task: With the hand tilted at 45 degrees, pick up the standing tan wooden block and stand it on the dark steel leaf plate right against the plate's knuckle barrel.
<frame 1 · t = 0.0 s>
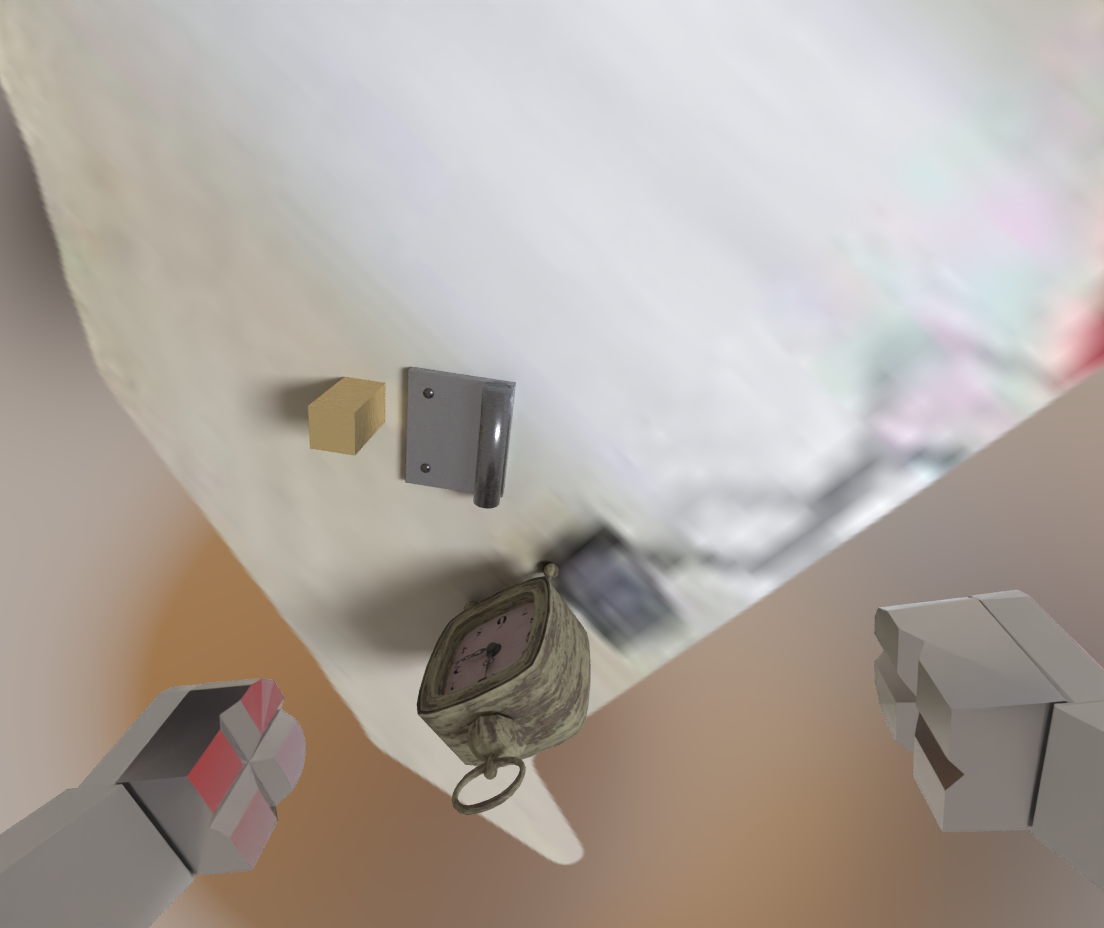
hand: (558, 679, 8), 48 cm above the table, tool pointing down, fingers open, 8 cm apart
fixed leaf: (459, 432, 60), on the table
tan wooden block: (365, 399, 59), on the table
tabletop clock: (525, 601, 68), on the table
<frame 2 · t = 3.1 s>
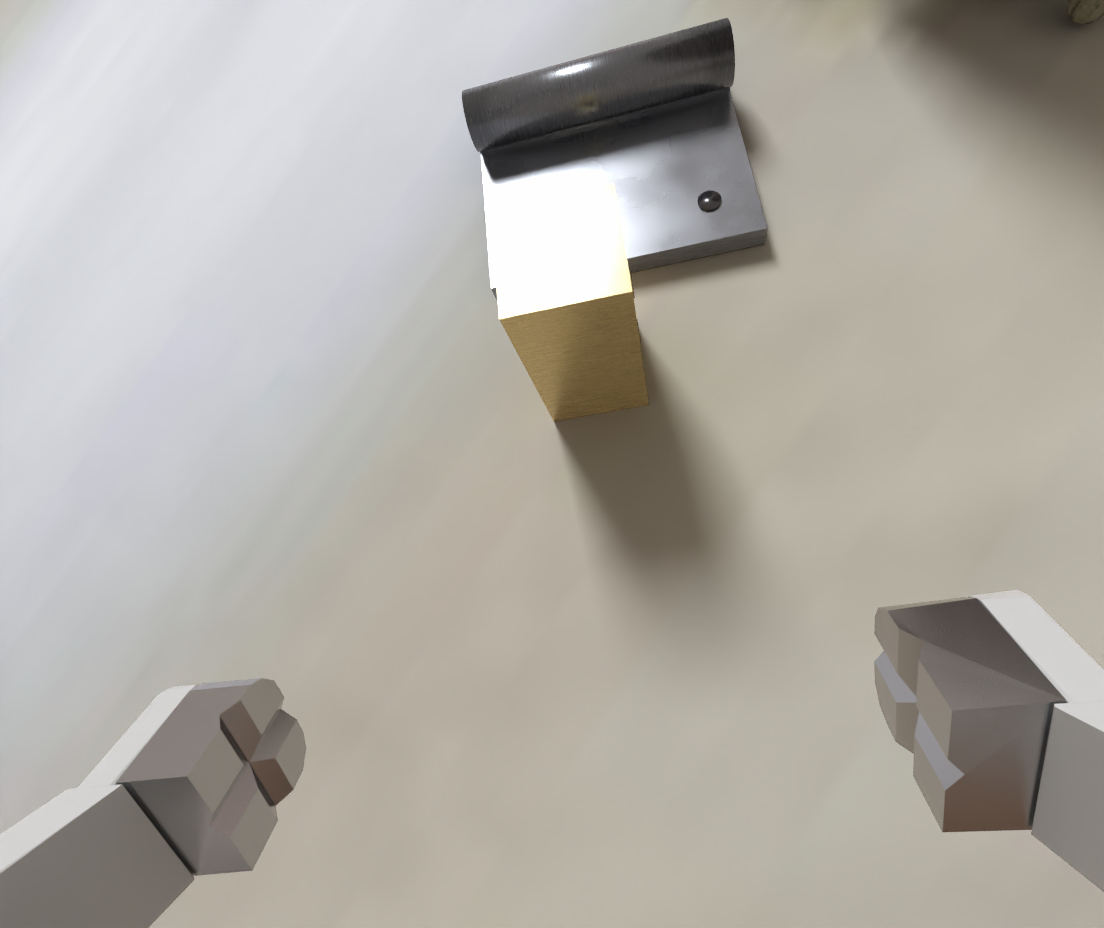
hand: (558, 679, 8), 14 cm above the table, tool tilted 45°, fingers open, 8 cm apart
fixed leaf: (611, 186, 29), on the table
tan wooden block: (594, 370, 26), on the table
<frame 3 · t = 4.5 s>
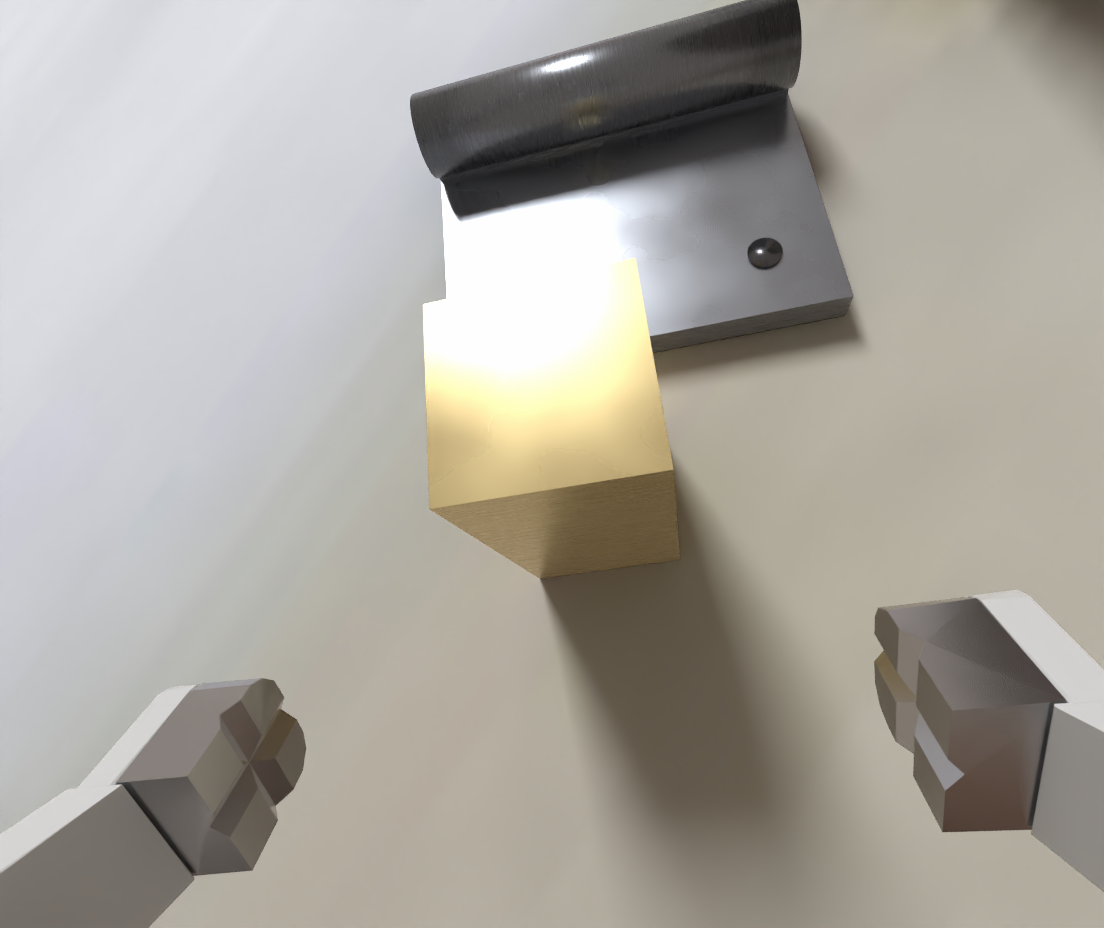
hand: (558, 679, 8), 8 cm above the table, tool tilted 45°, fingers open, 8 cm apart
fixed leaf: (621, 226, 21), on the table
tan wooden block: (599, 501, 18), on the table
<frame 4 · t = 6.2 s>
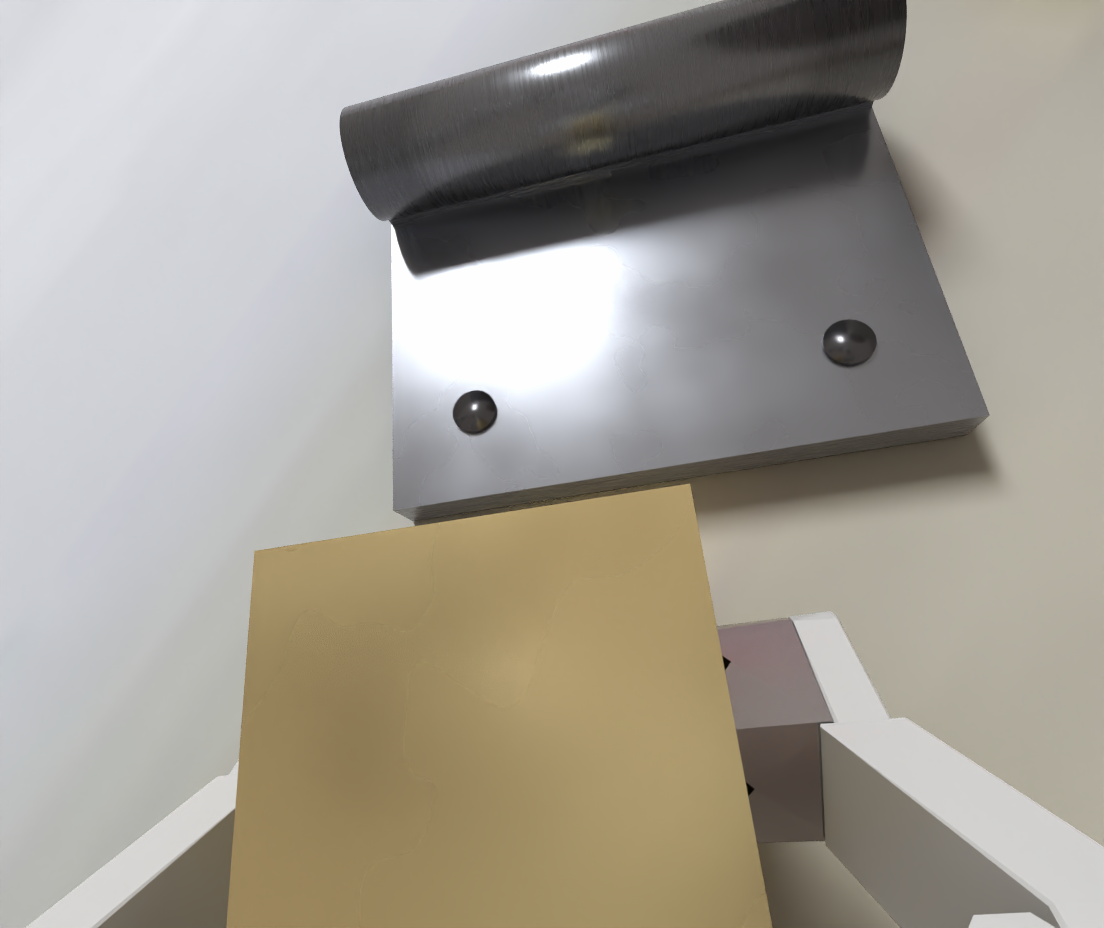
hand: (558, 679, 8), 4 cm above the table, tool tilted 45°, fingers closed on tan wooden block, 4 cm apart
fixed leaf: (635, 290, 15), on the table
tan wooden block: (606, 710, 12), on the table, touching gripper
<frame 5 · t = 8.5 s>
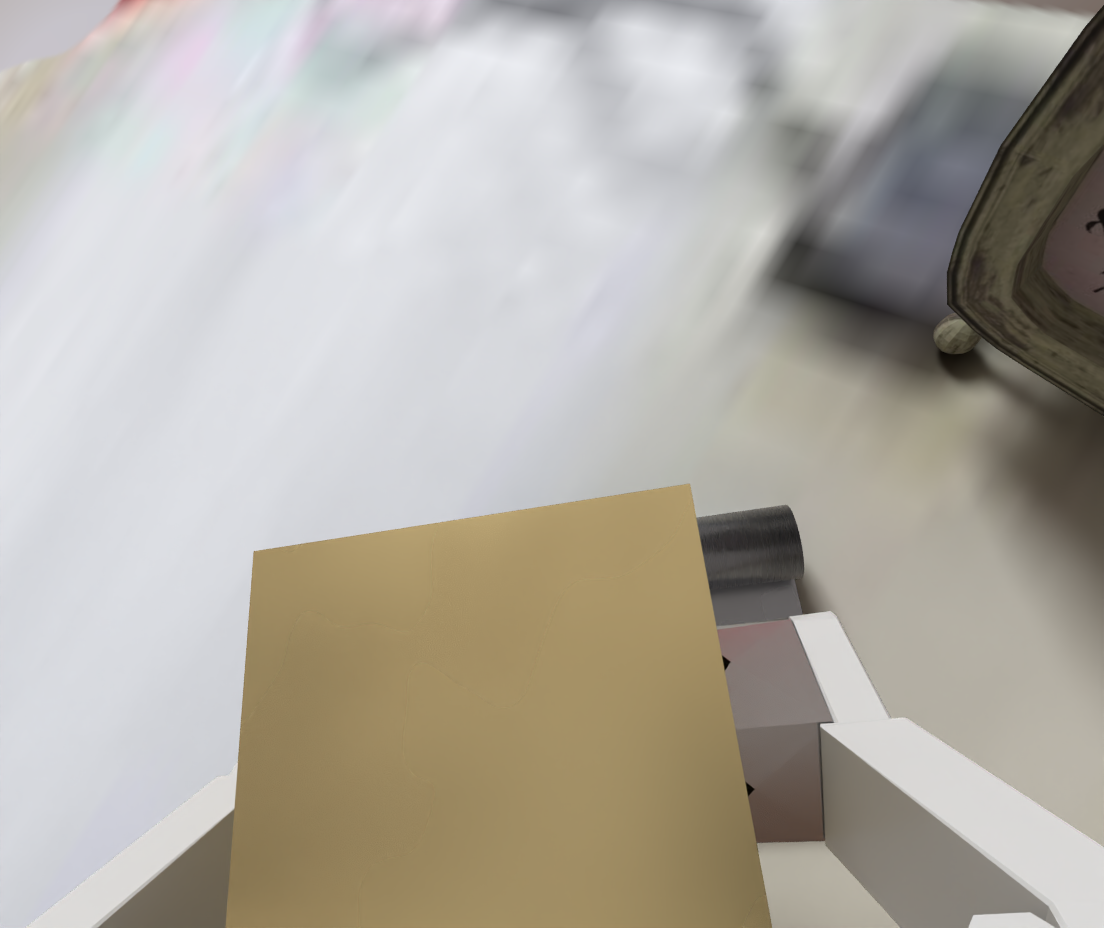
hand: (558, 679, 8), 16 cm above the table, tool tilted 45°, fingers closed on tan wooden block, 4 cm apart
fixed leaf: (643, 666, 23), on the table
tan wooden block: (606, 710, 12), point 12 cm above the table, touching gripper
when the fingers open (6 cm above the table, at t = 11.1 s): tan wooden block stays where it is, resting on fixed leaf.
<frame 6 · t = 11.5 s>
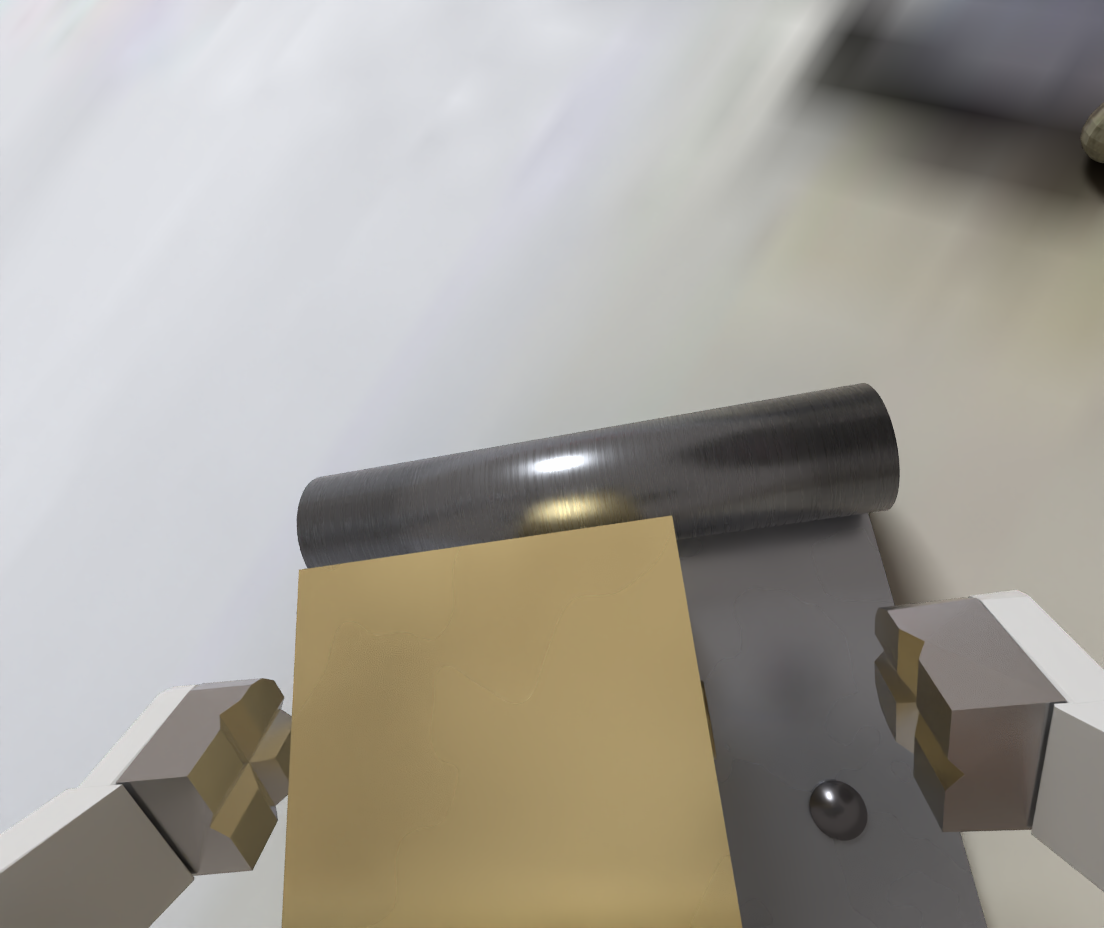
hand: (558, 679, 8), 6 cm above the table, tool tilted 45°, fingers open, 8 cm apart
fixed leaf: (614, 665, 14), on the table
tan wooden block: (603, 708, 13), point 1 cm above the table, touching fixed leaf
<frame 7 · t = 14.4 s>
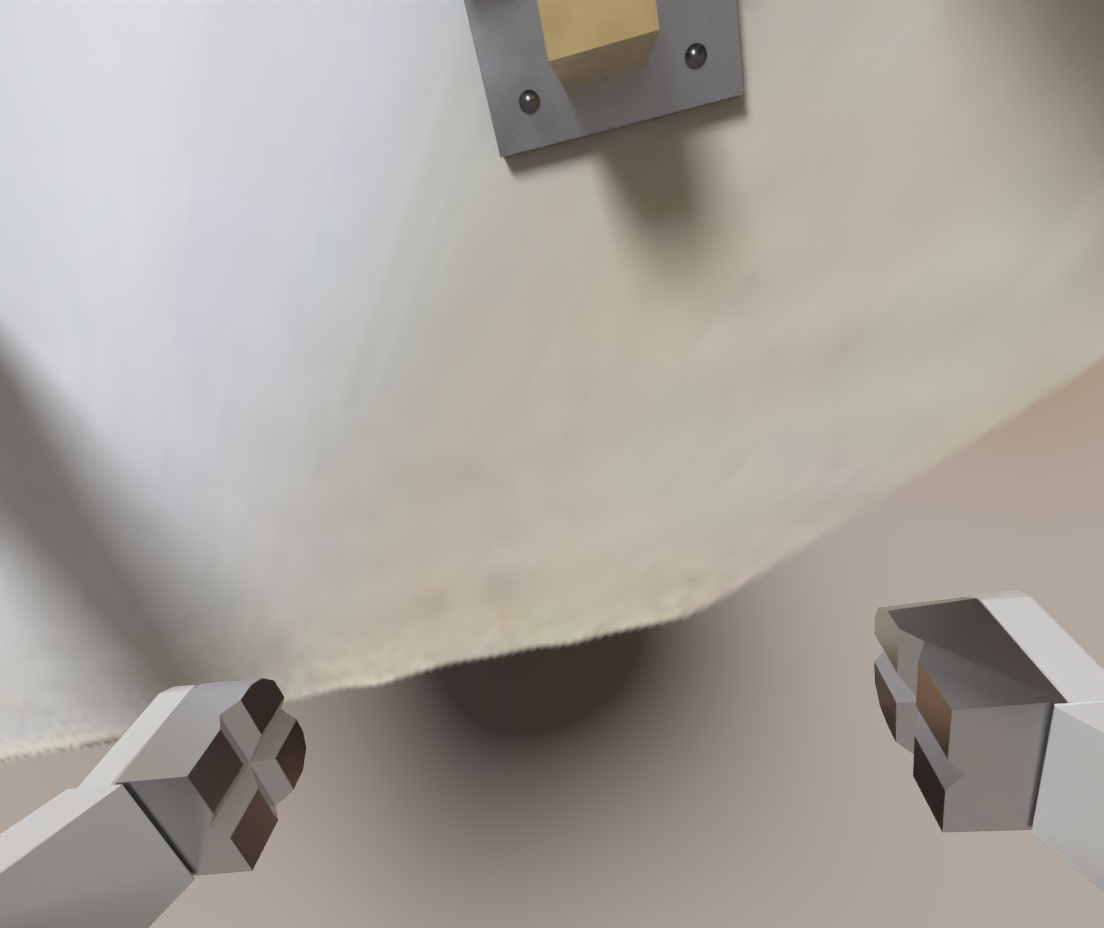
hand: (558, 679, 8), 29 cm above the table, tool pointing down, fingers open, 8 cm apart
fixed leaf: (599, 9, 28), on the table
tan wooden block: (597, 27, 28), point 1 cm above the table, touching fixed leaf
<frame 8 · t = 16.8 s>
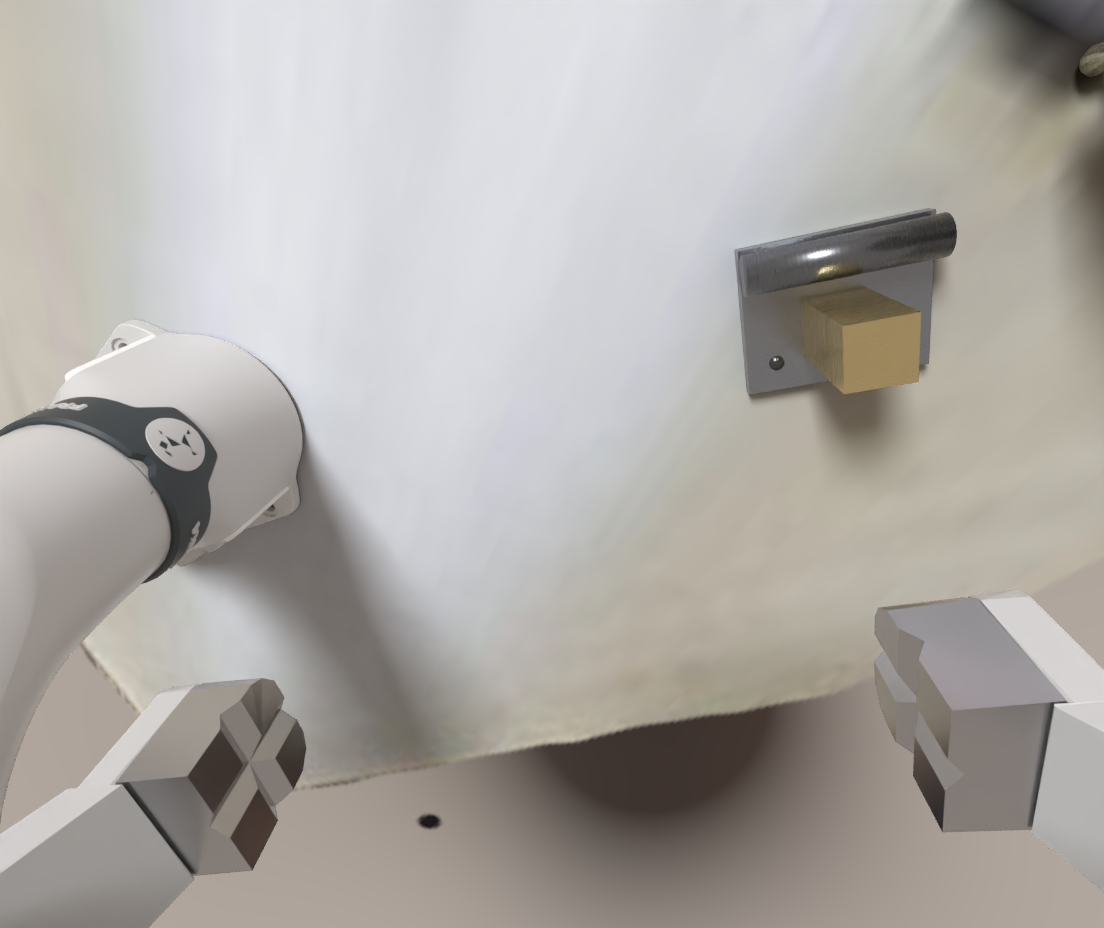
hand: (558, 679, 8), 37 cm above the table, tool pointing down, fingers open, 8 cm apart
fixed leaf: (830, 306, 41), on the table
tan wooden block: (832, 322, 41), point 1 cm above the table, touching fixed leaf
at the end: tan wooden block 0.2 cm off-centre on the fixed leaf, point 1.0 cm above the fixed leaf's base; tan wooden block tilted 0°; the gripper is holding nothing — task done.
